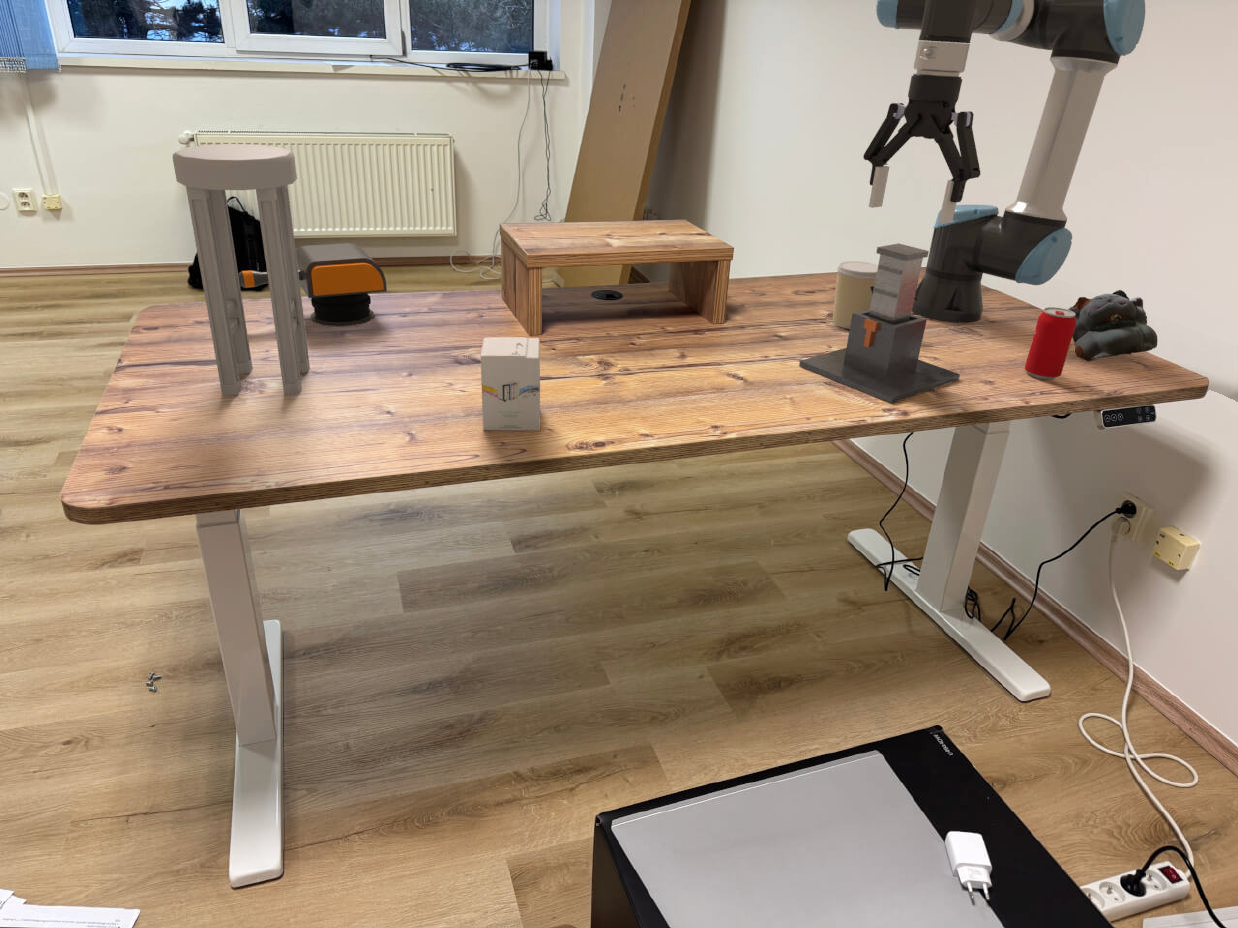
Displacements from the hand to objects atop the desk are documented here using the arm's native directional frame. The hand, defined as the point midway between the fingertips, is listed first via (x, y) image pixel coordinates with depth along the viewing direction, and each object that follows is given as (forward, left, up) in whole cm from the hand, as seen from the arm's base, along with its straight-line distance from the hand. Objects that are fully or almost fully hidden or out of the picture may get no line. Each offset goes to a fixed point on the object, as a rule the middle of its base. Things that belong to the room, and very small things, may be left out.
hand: (909, 214), depth 143 cm
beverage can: (-26, +17, -28) cm, 42 cm away
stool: (+91, -51, -28) cm, 108 cm away
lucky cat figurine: (-48, +18, -28) cm, 58 cm away
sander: (+73, -77, -28) cm, 110 cm away
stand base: (0, 0, -28) cm, 28 cm away
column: (0, 0, -27) cm, 27 cm away
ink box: (+66, -18, -28) cm, 74 cm away
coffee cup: (-19, -21, -28) cm, 40 cm away
